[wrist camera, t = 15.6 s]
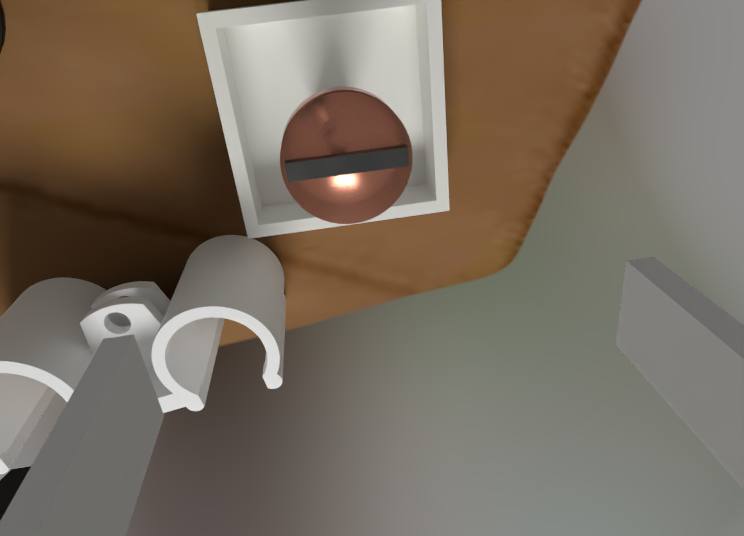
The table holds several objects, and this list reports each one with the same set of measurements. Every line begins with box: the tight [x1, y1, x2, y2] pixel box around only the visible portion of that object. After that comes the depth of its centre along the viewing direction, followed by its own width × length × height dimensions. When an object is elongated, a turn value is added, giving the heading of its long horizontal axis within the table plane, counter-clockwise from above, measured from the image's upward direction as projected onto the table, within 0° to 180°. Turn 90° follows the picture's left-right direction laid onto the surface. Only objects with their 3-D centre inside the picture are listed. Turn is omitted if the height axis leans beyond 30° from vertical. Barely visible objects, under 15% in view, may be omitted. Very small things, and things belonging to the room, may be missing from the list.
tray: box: [196, 0, 449, 239], centre depth 41 cm, size 16×16×5 cm
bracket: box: [0, 235, 286, 474], centre depth 44 cm, size 25×10×12 cm, turn 105°
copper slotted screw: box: [280, 86, 413, 224], centre depth 35 cm, size 7×7×16 cm
